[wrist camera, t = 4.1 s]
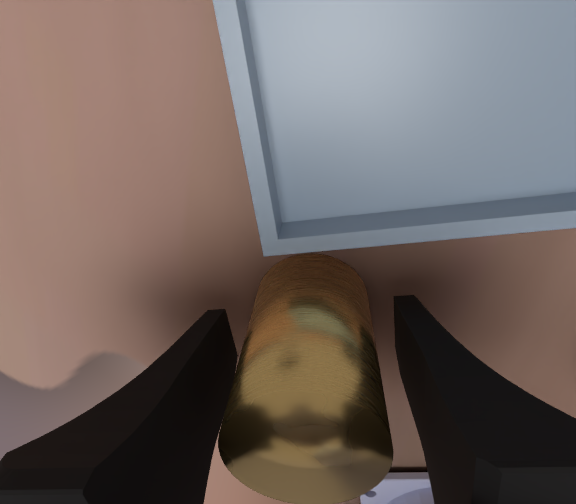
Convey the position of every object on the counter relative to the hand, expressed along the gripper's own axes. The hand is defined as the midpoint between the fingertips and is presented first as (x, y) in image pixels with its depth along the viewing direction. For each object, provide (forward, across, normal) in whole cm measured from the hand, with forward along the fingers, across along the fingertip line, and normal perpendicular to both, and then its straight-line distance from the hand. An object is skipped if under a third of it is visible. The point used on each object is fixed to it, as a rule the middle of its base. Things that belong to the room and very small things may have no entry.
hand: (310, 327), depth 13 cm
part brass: (+1, 0, 0) cm, 1 cm away
